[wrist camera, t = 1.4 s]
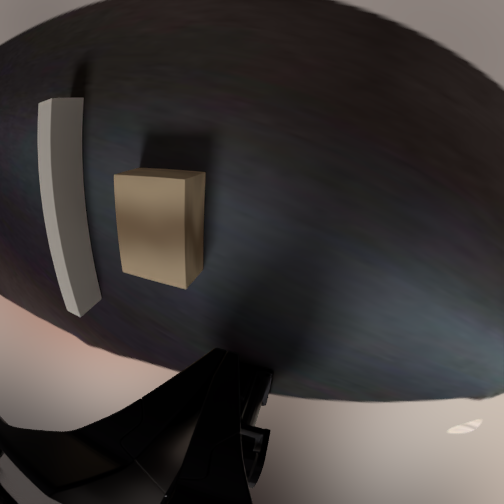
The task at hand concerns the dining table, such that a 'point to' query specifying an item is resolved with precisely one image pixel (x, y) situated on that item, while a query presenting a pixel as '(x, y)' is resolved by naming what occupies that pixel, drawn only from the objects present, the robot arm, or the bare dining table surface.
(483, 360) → the dining table surface
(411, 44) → the dining table surface
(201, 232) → the maple block
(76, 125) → the fence bar
